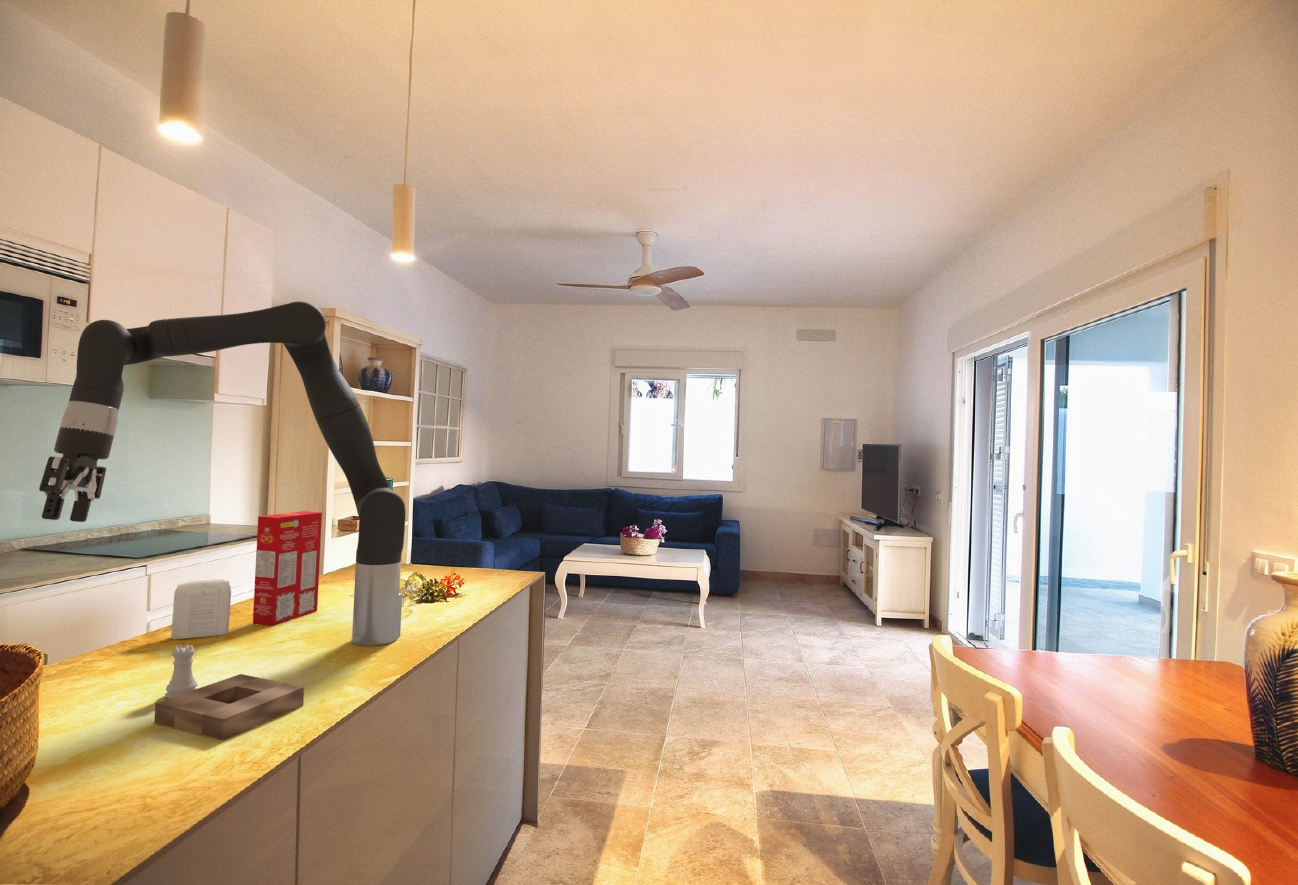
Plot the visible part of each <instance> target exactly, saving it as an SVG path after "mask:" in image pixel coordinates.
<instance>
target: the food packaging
mask: <svg viewBox="0 0 1298 885" xmlns="http://www.w3.org/2000/svg"><path fill="white" fill-rule="evenodd" d="M322 521H323V512H322V511H308V510H307V511H305V510H302V511H294V512H293V511H292V512H285V513H275V514H268V515H267V514H266V515H259V516H257V530H256V531H257V534H256V554H255V569H254V571H255V572H254V589H253V590H254V591H253V592H254V594H253V607H252V608H253V610H252V611H253V614H252V625H256V624H258V625H257V626H266V627H274V626H278V625H281V624H283V623H287V622H290V621H292V620H291V619H293V620H296V619H298V617H299V618H301V616H302V617H305V616H308V615H310V614H313V613H317V612H318V605H319V604H318V603H319V602H318V600H319V582H320V580H319V579H320V564H321V562H320V559H321V541H322V526H323V525H322ZM316 611H317V612H316ZM304 615H305V616H304ZM289 620H290V621H289ZM277 624H278V625H277Z"/></svg>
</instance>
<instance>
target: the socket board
mask: <svg viewBox="0 0 1298 885" xmlns="http://www.w3.org/2000/svg"><path fill="white" fill-rule="evenodd" d="M304 699H305V686H301V685H297V684H296V685H295V684H291V683H287V682H282V681H276V680H271V679H268V678H263V677H262V678H261V677H257V676H256V677H255V676H252V675H247V674H243V673H239V674H236V675H234V676H231V677H228V678H225V679H222V680H219V681H217V682H213V683H211V684H207V685H204V686H202V687H201V686H200V687H198V688H197V689H195V690H192V691H189V692H186V693H183V694H180V695H178V696H175V697H172V698H169V699H168V698H166V699H163V700H161V701H157V702H155V704H154V717H153V718H154V724H157V725H161V726H165V727H169V728H172V727H173V728H172V729H176V728H177V729H176V730H180V731H185V732H188V731H189V733H191V732H193V734H197V735H201V736H203V735H205V736H204V737H207V736H209V737H208V738H211V737H212V738H213V739H215V738H216V740H219V741H225V740H227V739H229V738H231V737H234V736H235V735H239V734H240V733H243V732H245V731H247V730H250V729H252V728H254V727H257V726H259V725H261V724H264V723H266V722H268V721H270V720H273V719H276V718H277V717H280V716H282V715H285V714H287V713H289V712H292V711H294V710H296V709H298V708H300V707H301V708H302V707H303V706H304V701H305V700H304ZM233 735H234V736H233Z"/></svg>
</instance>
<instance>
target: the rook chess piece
mask: <svg viewBox="0 0 1298 885" xmlns="http://www.w3.org/2000/svg"><path fill="white" fill-rule="evenodd" d="M195 653H196V650H195V649H194V647H193V645H192V644H190V645H189V644H184V647H183V645H178V646H175V647H174V651H172V653H171V656H172V657H173V659H174V661H173V662H172V665H173V671H172V676H171V679H170V680H169V683H168V684H167V685H166V687H165V691H166V692H165V693H164V696H165V697H166V699H169V698H172V697H175V696H178V695H180V694H183V693H186V692H189V691H192V690H195V689H198V688H197V687H198V682H197V681H196V680H195V677H194V676H193V670H192V665H193V662H194V659H193V656H194V654H195Z"/></svg>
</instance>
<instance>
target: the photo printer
mask: <svg viewBox="0 0 1298 885" xmlns="http://www.w3.org/2000/svg"><path fill="white" fill-rule="evenodd" d="M231 588H232V587H231V585H230V581H229V580H225V579H223V578H213V577H204V578H203V577H201V578H195V579H189V580H185V581H183V582H180V583H177V586H176V589H175V590H174V594H173V607H172V621H171V636H170V637H171V639H172V640H182V639H191V638H194V637H195V638H204V637H213V636H215V637H217V635H218V636H226V635H227V634H229V631H230V630H229V627H230V616H231V602H232V600H231V599H232V589H231Z"/></svg>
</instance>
